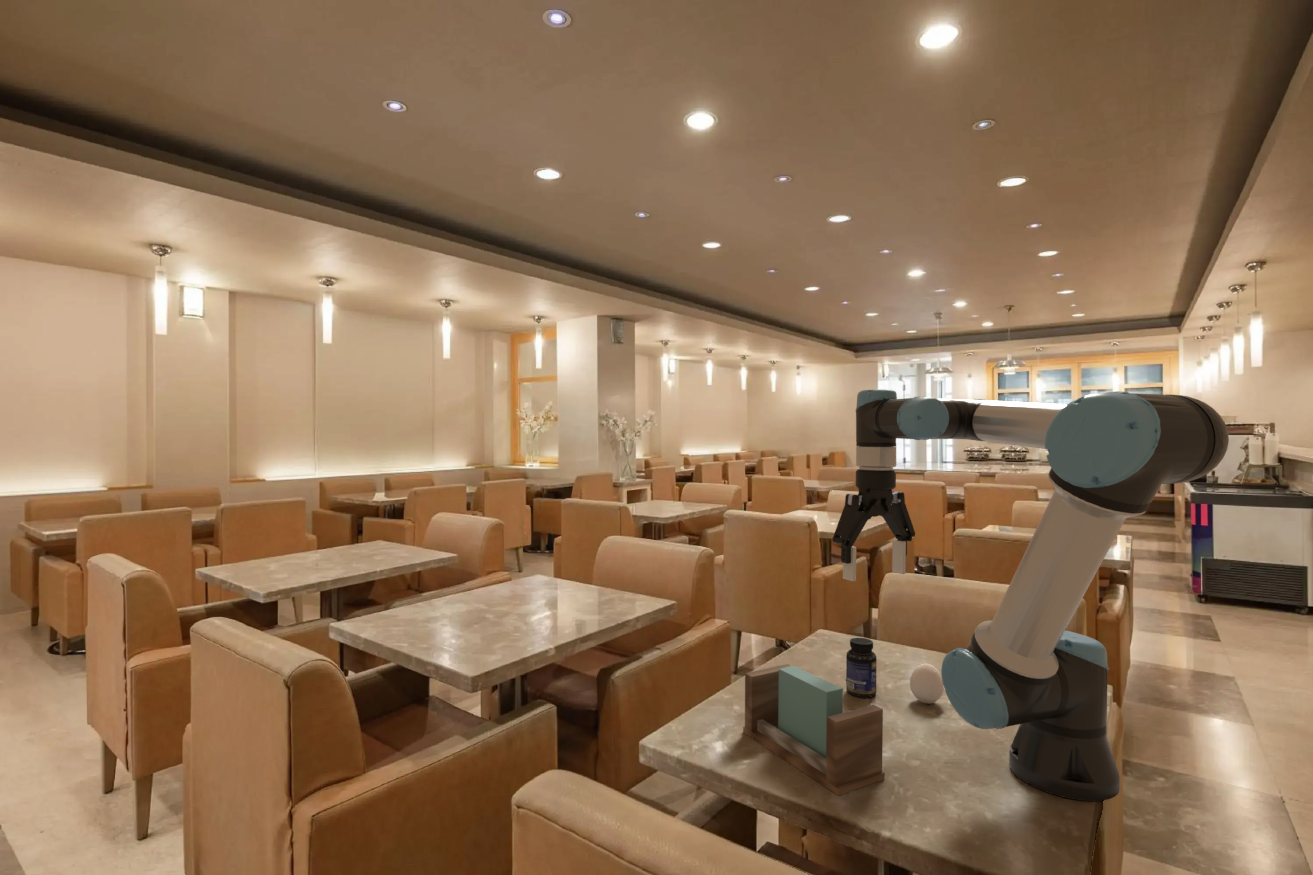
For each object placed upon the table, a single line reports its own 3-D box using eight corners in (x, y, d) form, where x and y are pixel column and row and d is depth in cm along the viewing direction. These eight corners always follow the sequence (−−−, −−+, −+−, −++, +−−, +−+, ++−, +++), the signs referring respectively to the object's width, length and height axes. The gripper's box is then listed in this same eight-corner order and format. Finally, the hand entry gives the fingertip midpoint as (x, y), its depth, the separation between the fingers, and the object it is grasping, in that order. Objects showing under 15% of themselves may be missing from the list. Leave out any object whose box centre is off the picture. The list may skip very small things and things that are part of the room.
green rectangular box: (842, 760, 109) (842, 688, 109) (826, 765, 108) (826, 692, 107) (793, 731, 120) (794, 665, 120) (778, 735, 118) (778, 668, 118)
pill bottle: (878, 699, 137) (878, 646, 137) (847, 697, 138) (847, 644, 138) (874, 688, 143) (874, 637, 143) (844, 685, 144) (845, 635, 144)
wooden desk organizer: (884, 778, 106) (885, 710, 105) (838, 795, 101) (838, 723, 101) (785, 720, 127) (786, 663, 126) (743, 731, 122) (743, 672, 122)
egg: (922, 693, 140) (922, 656, 140) (950, 704, 135) (950, 665, 134) (903, 700, 136) (903, 662, 136) (930, 711, 131) (931, 671, 131)
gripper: (904, 466, 140) (903, 566, 140) (814, 468, 128) (813, 579, 128) (934, 468, 133) (933, 573, 133) (842, 471, 121) (841, 587, 121)
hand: (874, 576), depth 131 cm, fingers open, 13 cm apart
